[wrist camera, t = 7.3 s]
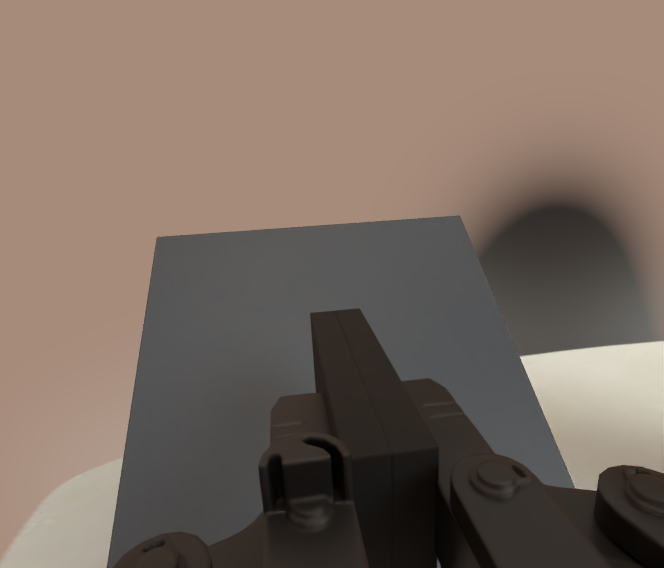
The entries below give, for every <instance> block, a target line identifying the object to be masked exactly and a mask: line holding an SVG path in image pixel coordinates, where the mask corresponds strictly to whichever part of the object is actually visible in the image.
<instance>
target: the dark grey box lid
mask: <svg viewBox="0 0 664 568" xmlns="http://www.w3.org/2000/svg"><path fill="white" fill-rule="evenodd" d="M356 308H360V310H361V311H362V313H363V315H364V317H365V318H366V320H367V322H368V324H369V325H370V327H371V329H372V331H373V332H374V334H375V336H376V338H377V339H378V341H379V343H380V345H381V346H382V348H383V350H384V351H385V353H386V355H387V357H388V358H389V360H390V362H391V364H392V365H393V367H394V369H395V371H396V372H397V374H398V376H399V378H400V379H401V381H408V380H417V379H425V378H430V379H432V380H433V381H435V382H437V383H438V384H440V385H442V386H443V387H445V388H446V389H447V390H448V391H449V393H450V394H451V395H452V397H453V398H454V399H455V401H456V404H458V405H459V406H460V407H461V409H462V410H463V411H464V414H465V415H467V416H468V418H469V419H470V420H471V422H472V423H473V424H474V426H475V427H476V428H477V430H478V431H479V432H480V434H481V435H482V436H483V438H484V439H485V440H486V442H487V443H488V444H489V446H490V447H491V448H492V450H493V451H494V452H495V454H498V455H502V456H506V457H509V458H511V459H513V460H515V461H517V462H519V463H521V464H523V465H525V466H526V467H527V468H528V469H529V470H530V471H531V472H533V473H534V474H535V475H536V476H537V477H538V479H539V480H540V481H541V482H542V483H543V484H545V485H550V486H555V487H563V488H573V489H575V487H574V485H573V482H572V480H571V478H570V475H569V473H568V470H567V468H566V466H565V463H564V461H563V459H562V456H561V454H560V452H559V449H558V447H557V444H556V442H555V440H554V437H553V435H552V433H551V430H550V428H549V425H548V423H547V421H546V418H545V416H544V414H543V411H542V409H541V407H540V404H539V402H538V399H537V397H536V395H535V392H534V390H533V388H532V385H531V383H530V380H529V378H528V376H527V373H526V371H525V369H524V366H523V364H522V362H521V359H520V357H519V355H518V352H517V350H516V347H515V345H514V343H513V340H512V338H511V336H510V333H509V331H508V328H507V326H506V324H505V321H504V319H503V317H502V314H501V312H500V310H499V307H498V305H497V302H496V300H495V298H494V295H493V293H492V290H491V289H490V286H489V283H488V281H487V279H486V276H485V274H484V272H483V269H482V267H481V264H480V262H479V260H478V257H477V255H476V253H475V250H474V248H473V246H472V243H471V241H470V239H469V236H468V234H467V231H466V229H465V227H464V224H463V222H462V220H461V217H460V216H447V217H434V218H418V219H405V220H390V221H376V222H362V223H349V224H334V225H321V226H306V227H292V228H279V229H264V230H251V231H237V232H222V233H209V234H194V235H180V236H166V237H157V239H156V246H155V252H154V259H153V266H152V272H151V279H150V286H149V293H148V299H147V306H146V312H145V319H144V325H143V332H142V339H141V345H140V352H139V358H138V365H137V372H136V378H135V385H134V392H133V399H132V405H131V411H130V418H129V425H128V431H127V438H126V444H125V451H124V458H123V464H122V471H121V477H120V484H119V491H118V497H117V504H116V511H115V517H114V524H113V530H112V537H111V544H110V550H109V557H108V563H107V568H113V566H114V565H115V564H116V563H117V562H118V561H119V560H120V558H121V557H122V556H123V555H124V554H125V553H127V552H128V551H130V550H131V549H132V548H134V547H135V546H137V545H138V544H140V543H141V542H142V541H145V540H147V539H150V538H152V537H155V536H157V535H160V534H162V533H171V532H180V531H181V532H185V533H189V534H193V535H197V536H198V537H199V538H200V539H201V540H202V541H203V542H205V543H206V544H207V545H208V546H210V545H212V544H215V543H217V542H219V541H222V540H224V539H226V538H229V537H231V536H233V535H235V534H236V533H238V532H240V531H242V530H244V529H245V528H246V527H247V526H249V525H250V524H251V523H252V522H254V521H255V519H256V518H257V517H258V516H259V515H260V513H261V512H262V511H263V503H262V495H261V487H260V479H259V471H258V465H259V462H260V459H261V456H262V454H263V453H264V452H265V451H266V450H267V449H268V448H269V447H270V428H271V409H272V408H273V406H274V405H275V404H276V402H277V401H278V399H279V398H280V397H282V396H290V395H299V394H308V393H316V387H315V374H314V360H313V347H312V333H311V320H310V313H314V312H324V311H335V310H345V309H356ZM437 568H441V566H440V563H439V561H438V558H437Z"/></svg>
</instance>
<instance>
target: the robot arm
mask: <svg viewBox="0 0 664 568" xmlns="http://www.w3.org/2000/svg"><path fill="white" fill-rule="evenodd" d="M310 320H311V333H312V347H313V360H314V374H315V387H316V393H308V394H299V395H290V396H282V397H280V398H279V399H278V401H277V402H276V404H275V405H274V406H273V408H272V409H271V428H270V447H269V448H268V449H267V450H266V451H265V452H264V453H263V454H262V456H261V459H260V462H259V465H258V471H259V479H260V487H261V495H262V503H263V511H262V512H261V513H260V515H259V516H258V517H257V518H256V519H255V521H254V522H252V523H251V524H250V525H249V526H247V527H246V528H245V529H244V530H242V531H240V532H238V533H236V534H235V535H233V536H231V537H229V538H226V539H224V540H222V541H219V542H217V543H215V544H212V545H210V546H208V545H207V544H206V543H205V542H203V541H202V540H201V539H200V538H199V537H198V536H197V535H193V534H189V533H185V532H181V531H180V532H171V533H162V534H160V535H157V536H155V537H152V538H150V539H147V540H145V541H142V542H141V543H140V544H138V545H137V546H135V547H134V548H132V549H131V550H130V551H128V552H127V553H125V554H124V555H123V556H122V557H121V558H120V560H119V561H118V562H117V563H116V564H115V565H114V566H113V568H437V558H438V561H439V563H440V566H441V568H664V474H663V473H660V472H657V471H654V470H650V469H647V468H644V467H637V466H627V465H621V466H615V467H610V468H607V469H606V470H605V471H603V472H602V473H601V474H600V475H599V480H598V487H597V491H591V490H582V489H573V488H563V487H555V486H550V485H545V484H543V483H542V482H541V481H540V480H539V479H538V477H537V476H536V475H535V474H534V473H533V472H531V471H530V470H529V469H528V468H527V467H526V466H525V465H523V464H521V463H519V462H517V461H515V460H513V459H511V458H509V457H506V456H502V455H498V454H495V452H494V451H493V450H492V448H491V447H490V446H489V444H488V443H487V442H486V440H485V439H484V438H483V436H482V435H481V434H480V432H479V431H478V430H477V428H476V427H475V426H474V424H473V423H472V422H471V420H470V419H469V418H468V416H467V415H465V414H464V411H463V410H462V409H461V407H460V406H459V405H458V404H456V401H455V399H454V398H453V397H452V395H451V394H450V393H449V391H448V390H447V389H446V388H445V387H443V386H442V385H440V384H438V383H437V382H435V381H433V380H432V379H430V378H425V379H417V380H408V381H401V379H400V378H399V376H398V374H397V372H396V371H395V369H394V367H393V365H392V364H391V362H390V360H389V358H388V357H387V355H386V353H385V351H384V350H383V348H382V346H381V345H380V343H379V341H378V339H377V338H376V336H375V334H374V332H373V331H372V329H371V327H370V325H369V324H368V322H367V320H366V318H365V317H364V315H363V313H362V311H361V310H360V308H356V309H345V310H335V311H324V312H314V313H310Z"/></svg>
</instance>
